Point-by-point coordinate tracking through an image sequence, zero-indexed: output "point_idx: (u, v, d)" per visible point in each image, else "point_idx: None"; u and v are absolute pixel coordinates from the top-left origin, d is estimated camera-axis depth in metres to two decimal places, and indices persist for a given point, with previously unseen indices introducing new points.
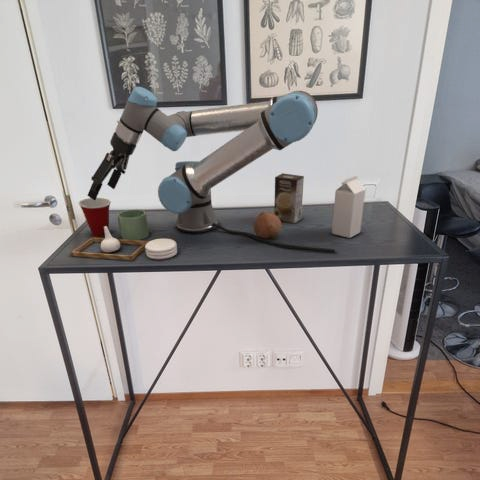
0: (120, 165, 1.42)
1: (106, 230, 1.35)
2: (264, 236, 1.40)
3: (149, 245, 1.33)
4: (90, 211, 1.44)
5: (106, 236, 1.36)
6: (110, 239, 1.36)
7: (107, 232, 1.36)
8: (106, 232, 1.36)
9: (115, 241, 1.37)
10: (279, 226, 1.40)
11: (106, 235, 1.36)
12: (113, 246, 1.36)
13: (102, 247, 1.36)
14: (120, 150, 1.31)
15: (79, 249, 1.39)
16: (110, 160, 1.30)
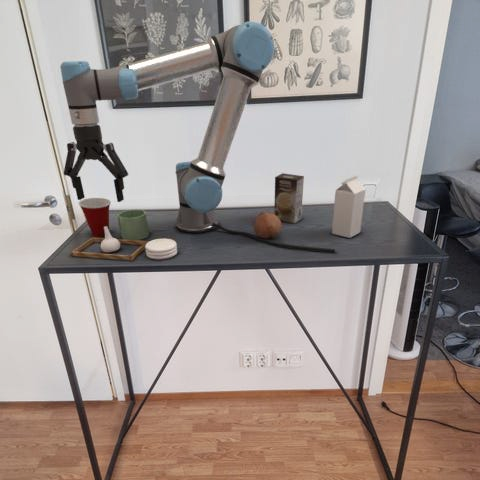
0: (82, 164, 1.27)
1: (106, 230, 1.35)
2: (264, 236, 1.40)
3: (149, 245, 1.33)
4: (90, 211, 1.44)
5: (106, 236, 1.36)
6: (110, 239, 1.36)
7: (107, 232, 1.36)
8: (106, 232, 1.36)
9: (115, 241, 1.37)
10: (279, 226, 1.40)
11: (106, 235, 1.36)
12: (113, 246, 1.36)
13: (102, 247, 1.36)
14: (101, 135, 1.21)
15: (79, 249, 1.39)
16: (113, 147, 1.22)
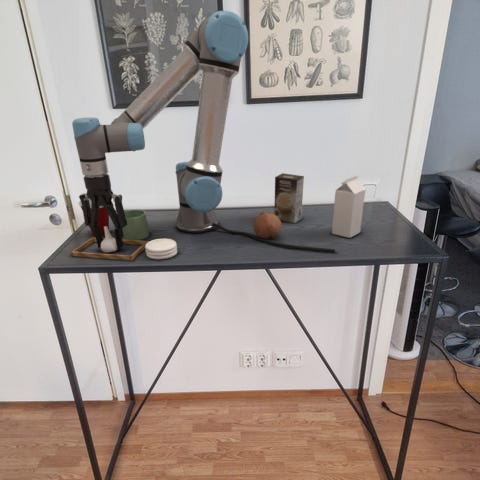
0: (98, 212, 1.34)
1: (106, 230, 1.35)
2: (264, 236, 1.40)
3: (149, 245, 1.33)
4: None
5: (106, 236, 1.36)
6: (110, 239, 1.36)
7: (107, 232, 1.36)
8: (106, 232, 1.36)
9: (115, 241, 1.37)
10: (279, 226, 1.40)
11: (106, 235, 1.36)
12: (113, 246, 1.36)
13: (102, 247, 1.36)
14: (110, 184, 1.28)
15: (79, 249, 1.39)
16: (121, 199, 1.30)
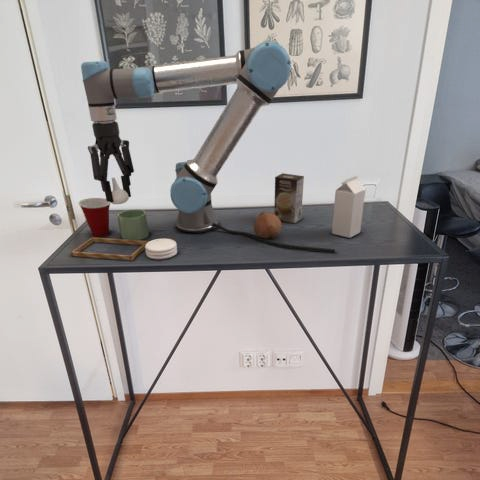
0: None
1: (115, 181, 1.35)
2: (264, 236, 1.40)
3: (149, 245, 1.33)
4: (90, 211, 1.44)
5: (117, 187, 1.35)
6: (121, 189, 1.37)
7: (116, 183, 1.35)
8: (116, 183, 1.35)
9: (124, 190, 1.38)
10: (279, 226, 1.40)
11: (117, 186, 1.35)
12: (127, 194, 1.38)
13: (120, 198, 1.35)
14: None
15: (79, 249, 1.39)
16: None
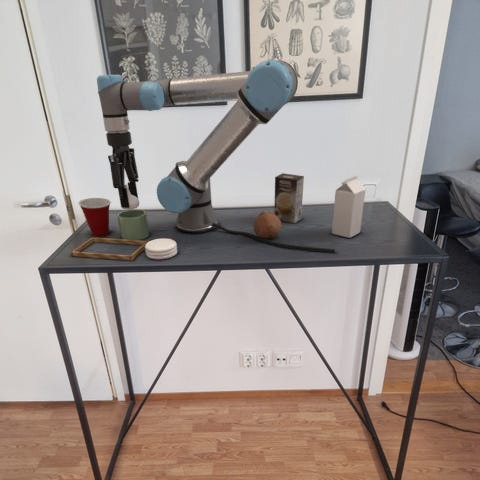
0: None
1: (127, 187, 1.41)
2: (264, 236, 1.40)
3: (149, 245, 1.33)
4: (90, 211, 1.44)
5: (129, 193, 1.42)
6: (131, 195, 1.44)
7: None
8: (128, 189, 1.42)
9: None
10: (279, 226, 1.40)
11: (129, 192, 1.42)
12: None
13: (135, 203, 1.42)
14: None
15: (79, 249, 1.39)
16: None
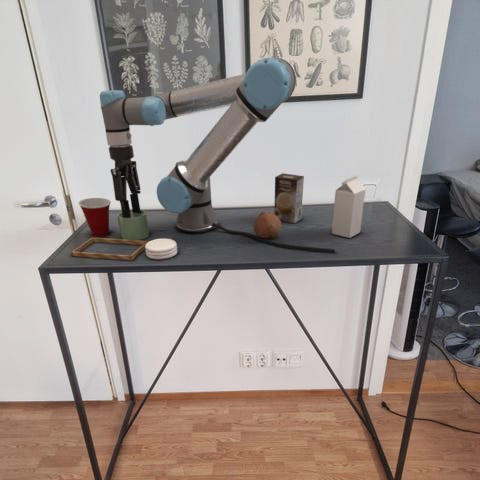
0: None
1: (132, 215, 1.46)
2: (264, 236, 1.40)
3: (149, 245, 1.33)
4: (90, 211, 1.44)
5: None
6: None
7: None
8: (133, 217, 1.47)
9: None
10: (279, 226, 1.40)
11: None
12: None
13: None
14: None
15: (79, 249, 1.39)
16: None
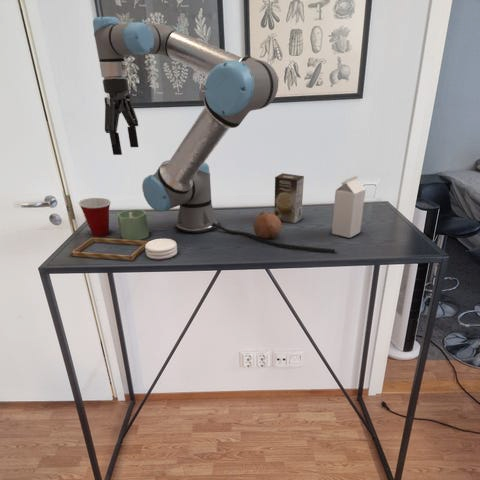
0: None
1: (132, 215, 1.46)
2: (264, 236, 1.40)
3: (149, 245, 1.33)
4: (90, 211, 1.44)
5: None
6: None
7: None
8: (133, 217, 1.47)
9: None
10: (279, 226, 1.40)
11: None
12: None
13: None
14: None
15: (79, 249, 1.39)
16: None
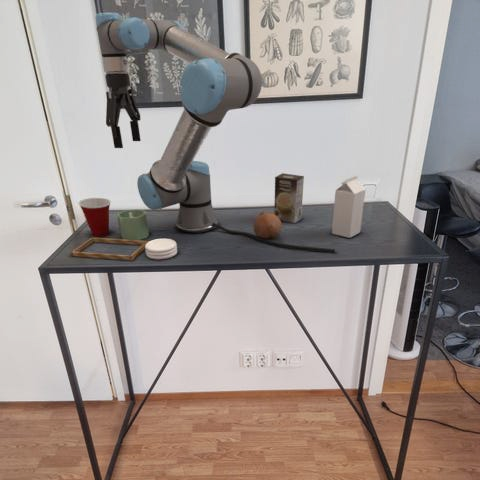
0: None
1: (132, 215, 1.46)
2: (264, 236, 1.40)
3: (149, 245, 1.33)
4: (90, 211, 1.44)
5: None
6: None
7: None
8: (133, 217, 1.47)
9: None
10: (279, 226, 1.40)
11: None
12: None
13: None
14: None
15: (79, 249, 1.39)
16: None
